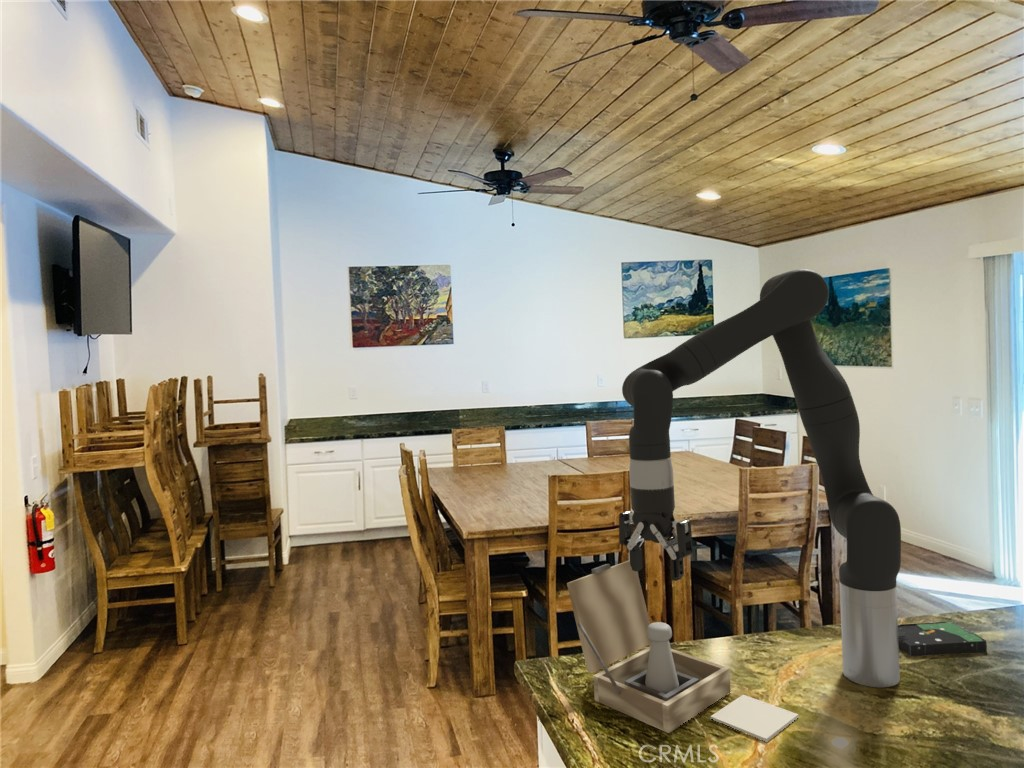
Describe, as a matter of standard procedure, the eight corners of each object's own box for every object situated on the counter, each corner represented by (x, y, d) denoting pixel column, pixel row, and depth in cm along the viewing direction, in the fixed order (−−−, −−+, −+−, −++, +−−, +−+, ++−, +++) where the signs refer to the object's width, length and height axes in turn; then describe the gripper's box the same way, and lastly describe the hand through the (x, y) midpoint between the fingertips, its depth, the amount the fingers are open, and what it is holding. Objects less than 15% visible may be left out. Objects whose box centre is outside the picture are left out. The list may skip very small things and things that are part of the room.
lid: (655, 641, 138) (650, 641, 139) (633, 555, 140) (628, 555, 141) (592, 673, 126) (587, 673, 127) (569, 578, 128) (565, 578, 129)
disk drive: (911, 660, 136) (988, 654, 136) (910, 645, 135) (987, 639, 135) (882, 638, 146) (954, 632, 146) (882, 625, 146) (953, 619, 146)
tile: (743, 697, 124) (743, 694, 124) (798, 717, 116) (798, 714, 116) (710, 719, 117) (710, 716, 117) (766, 742, 110) (766, 738, 110)
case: (647, 662, 139) (644, 593, 139) (730, 693, 126) (727, 616, 125) (580, 698, 127) (576, 622, 126) (664, 736, 113) (660, 651, 112)
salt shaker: (682, 704, 123) (678, 630, 122) (649, 705, 123) (645, 632, 122) (675, 688, 129) (671, 617, 128) (643, 689, 129) (639, 619, 128)
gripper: (698, 483, 121) (703, 577, 122) (633, 476, 132) (638, 562, 133) (672, 491, 116) (677, 589, 117) (606, 482, 127) (611, 572, 128)
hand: (656, 574), depth 125 cm, fingers open, 8 cm apart
